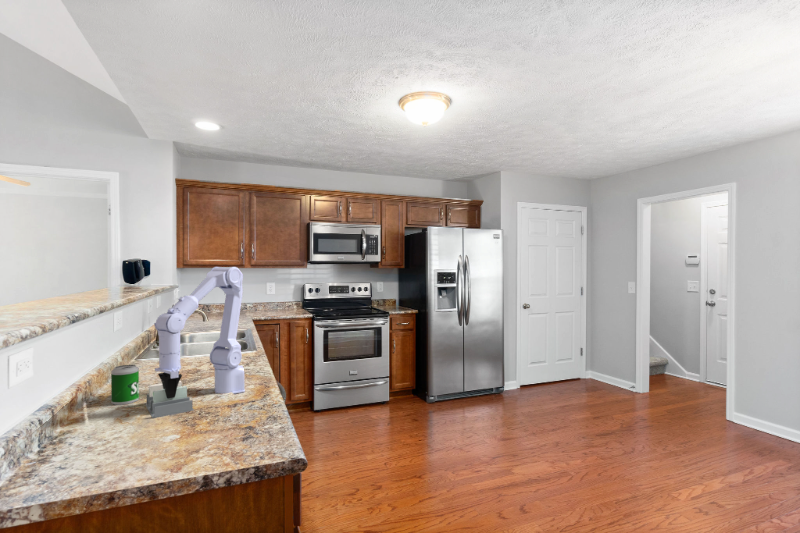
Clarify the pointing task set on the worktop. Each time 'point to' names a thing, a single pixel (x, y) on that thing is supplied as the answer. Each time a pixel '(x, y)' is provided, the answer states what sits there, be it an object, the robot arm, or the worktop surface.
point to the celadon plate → (161, 396)
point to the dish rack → (168, 406)
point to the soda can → (124, 384)
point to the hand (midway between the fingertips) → (170, 396)
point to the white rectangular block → (158, 388)
